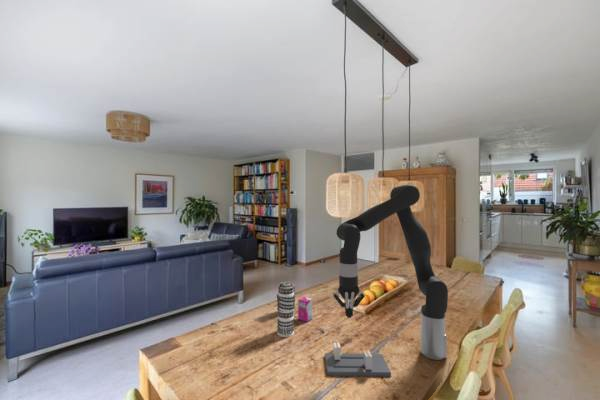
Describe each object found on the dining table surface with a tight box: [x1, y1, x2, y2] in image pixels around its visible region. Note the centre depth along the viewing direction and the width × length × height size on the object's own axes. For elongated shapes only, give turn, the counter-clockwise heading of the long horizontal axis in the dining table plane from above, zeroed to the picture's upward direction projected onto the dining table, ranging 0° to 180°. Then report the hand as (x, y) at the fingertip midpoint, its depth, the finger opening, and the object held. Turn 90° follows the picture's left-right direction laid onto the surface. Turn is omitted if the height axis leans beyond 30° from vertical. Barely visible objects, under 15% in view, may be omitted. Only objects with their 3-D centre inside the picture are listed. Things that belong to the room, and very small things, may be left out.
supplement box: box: [297, 296, 313, 324], centre depth 148 cm, size 6×6×12 cm
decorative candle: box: [276, 281, 296, 338], centre depth 133 cm, size 9×9×25 cm
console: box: [324, 352, 392, 377], centre depth 107 cm, size 24×12×2 cm, turn 90°
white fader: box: [332, 341, 342, 360], centre depth 110 cm, size 2×4×5 cm, turn 0°
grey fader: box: [363, 349, 372, 370], centre depth 104 cm, size 2×4×5 cm, turn 0°
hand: (348, 316), depth 107 cm, fingers closed
